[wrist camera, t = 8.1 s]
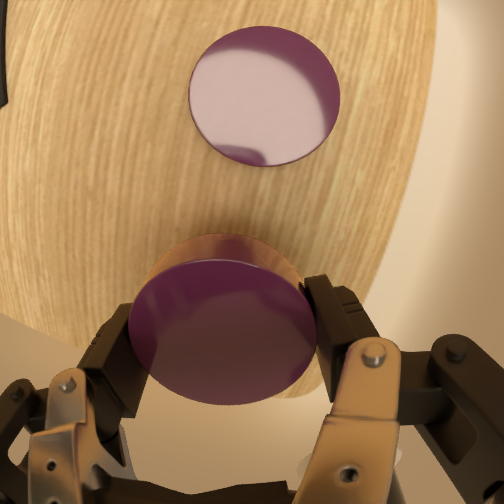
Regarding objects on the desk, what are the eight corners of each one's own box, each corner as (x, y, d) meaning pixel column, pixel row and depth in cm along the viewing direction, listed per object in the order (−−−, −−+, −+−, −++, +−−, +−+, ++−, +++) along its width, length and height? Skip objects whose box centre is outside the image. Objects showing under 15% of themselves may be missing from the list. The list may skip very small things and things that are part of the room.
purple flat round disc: (308, 347, 12) (320, 393, 9) (175, 364, 12) (164, 409, 10) (294, 213, 10) (311, 241, 7) (130, 242, 10) (99, 275, 8)
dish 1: (332, 150, 13) (351, 155, 11) (211, 172, 13) (205, 181, 11) (309, 37, 11) (323, 20, 9) (187, 57, 11) (175, 42, 9)
